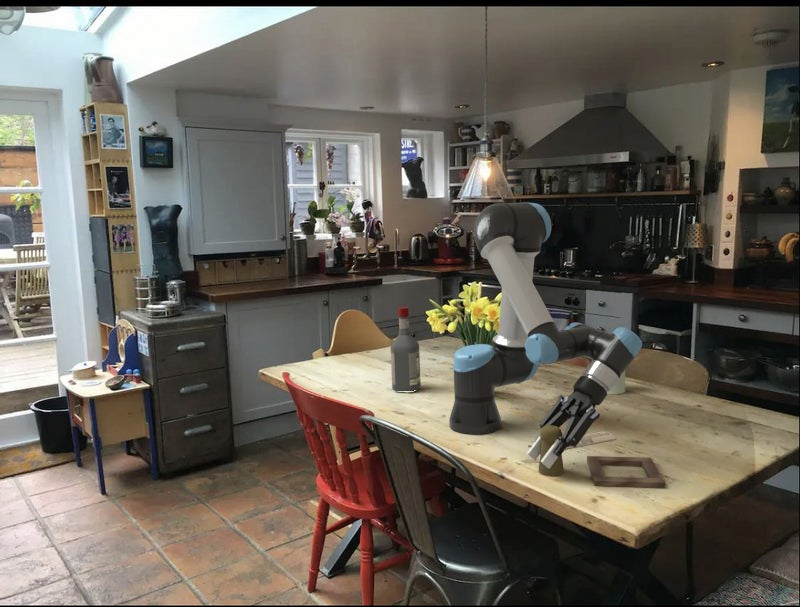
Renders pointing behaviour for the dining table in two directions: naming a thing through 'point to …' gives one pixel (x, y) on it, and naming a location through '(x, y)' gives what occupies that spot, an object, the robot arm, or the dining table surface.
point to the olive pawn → (548, 438)
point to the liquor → (405, 357)
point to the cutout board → (600, 480)
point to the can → (618, 386)
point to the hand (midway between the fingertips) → (537, 460)
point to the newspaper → (592, 439)
